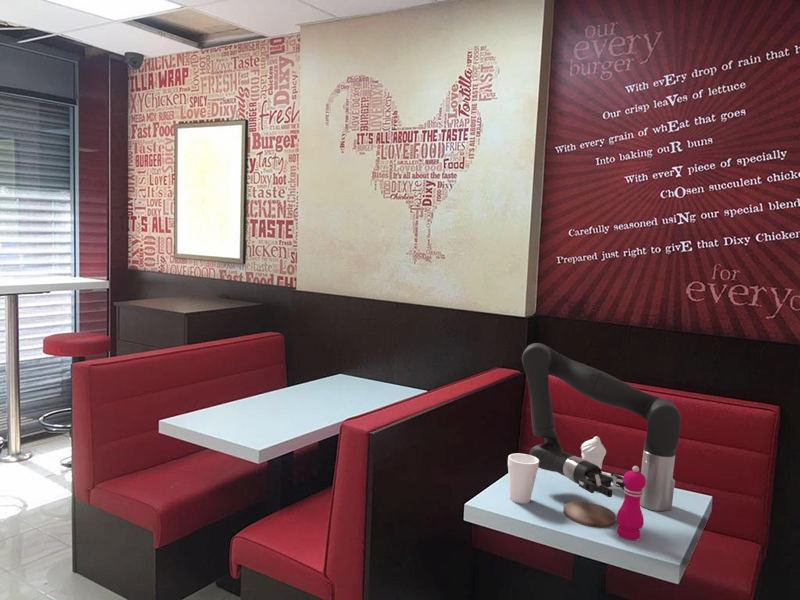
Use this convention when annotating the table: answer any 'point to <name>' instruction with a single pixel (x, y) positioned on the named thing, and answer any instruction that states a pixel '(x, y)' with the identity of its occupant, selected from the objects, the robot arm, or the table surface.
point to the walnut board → (589, 514)
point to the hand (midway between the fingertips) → (622, 492)
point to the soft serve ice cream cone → (593, 451)
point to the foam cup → (521, 476)
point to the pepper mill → (631, 506)
